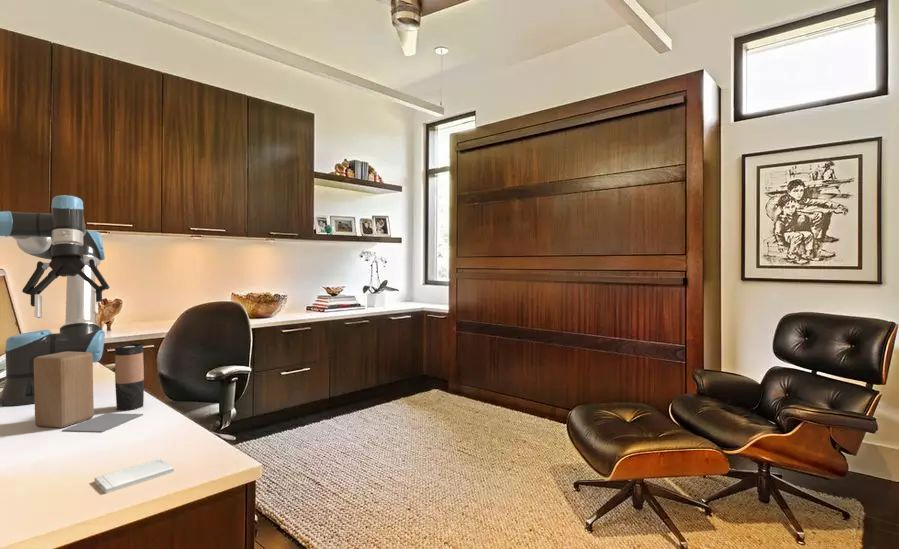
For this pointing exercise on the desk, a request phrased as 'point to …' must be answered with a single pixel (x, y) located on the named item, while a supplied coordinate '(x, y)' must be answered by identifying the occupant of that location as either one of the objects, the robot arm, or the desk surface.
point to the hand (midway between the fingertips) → (67, 315)
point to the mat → (103, 422)
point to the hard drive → (133, 475)
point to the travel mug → (129, 377)
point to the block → (63, 388)
